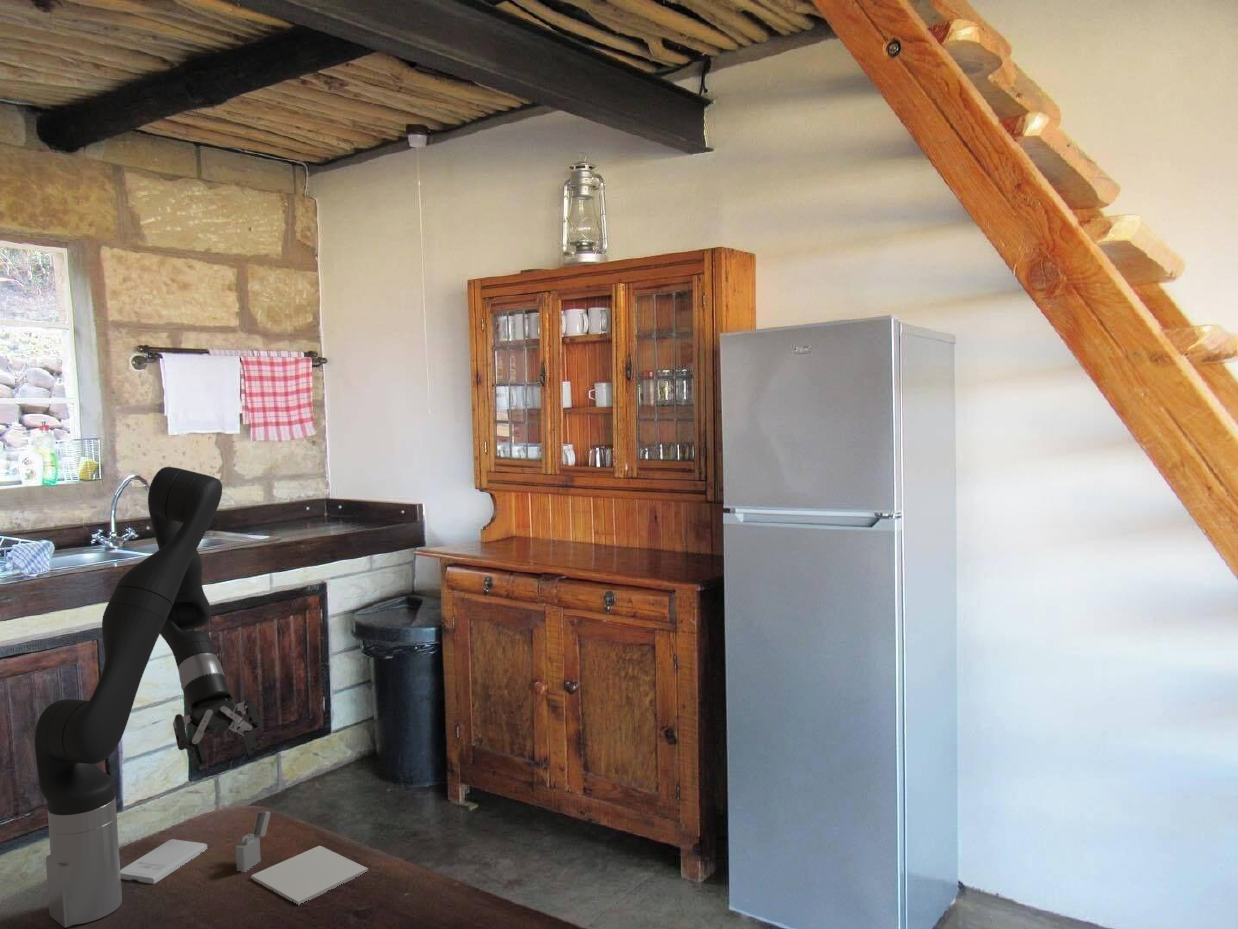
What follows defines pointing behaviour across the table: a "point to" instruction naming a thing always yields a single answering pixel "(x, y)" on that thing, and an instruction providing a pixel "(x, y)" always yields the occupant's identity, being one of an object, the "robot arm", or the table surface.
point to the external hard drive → (162, 861)
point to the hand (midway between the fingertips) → (228, 758)
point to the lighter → (252, 843)
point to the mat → (309, 874)
